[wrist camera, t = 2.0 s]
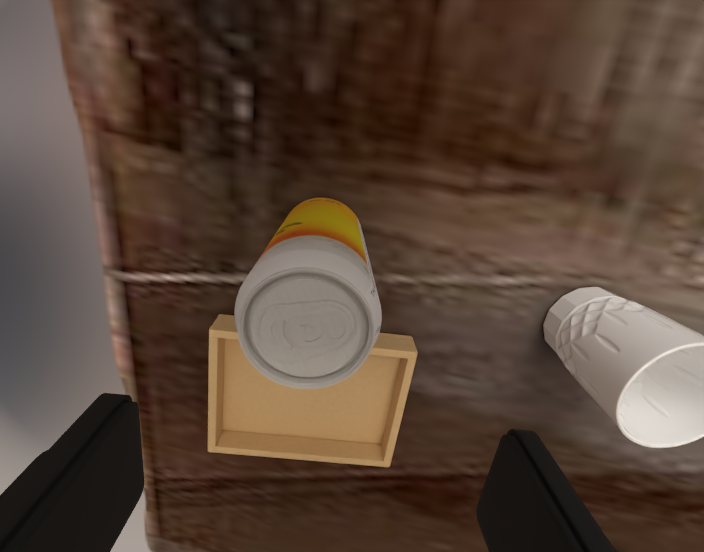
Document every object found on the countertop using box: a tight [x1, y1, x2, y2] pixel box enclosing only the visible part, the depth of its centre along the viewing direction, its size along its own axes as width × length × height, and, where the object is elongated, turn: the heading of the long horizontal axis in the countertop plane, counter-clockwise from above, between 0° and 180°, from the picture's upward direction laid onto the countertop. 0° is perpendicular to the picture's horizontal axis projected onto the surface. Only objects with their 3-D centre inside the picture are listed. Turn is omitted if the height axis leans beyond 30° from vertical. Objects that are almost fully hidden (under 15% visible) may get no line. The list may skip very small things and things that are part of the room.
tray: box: [208, 314, 418, 467], centre depth 32 cm, size 12×16×3 cm
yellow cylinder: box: [234, 198, 382, 389], centre depth 21 cm, size 6×6×15 cm
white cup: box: [543, 287, 704, 448], centre depth 27 cm, size 8×8×10 cm
